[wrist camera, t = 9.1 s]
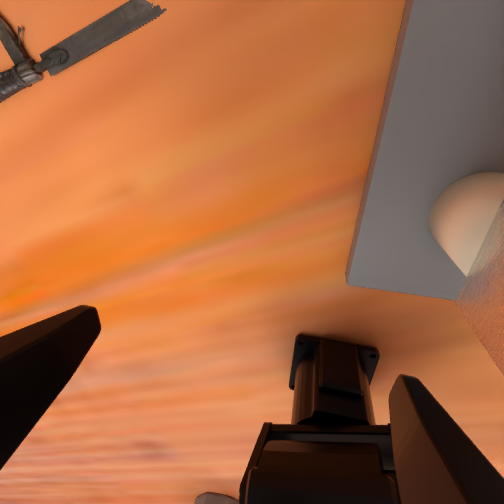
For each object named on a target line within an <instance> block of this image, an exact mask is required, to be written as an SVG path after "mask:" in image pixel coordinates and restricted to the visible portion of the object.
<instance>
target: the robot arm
mask: <svg viewBox="0 0 504 504" xmlns="http://www.w3.org/2000/svg"><path fill="white" fill-rule="evenodd" d="M100 331H101V323H100V319H99V316H98V312H97V309H96V308H95V307H92V306H88V305H80V306H77V307H75V308H72V309H70V310H67V311H65V312H62V313H60V314H57V315H55V316H52V317H50V318H47V319H45V320H42V321H39V322H37V323H34V324H32V325H29V326H27V327H24V328H22V329H19V330H17V331H14V332H12V333H9V334H7V335H4V336H2V337H0V470H1V469H2V468H3V466H4V465H5V464H6V462H7V461H8V460H9V458H10V457H11V456H12V455H13V453H14V452H15V451H16V449H17V448H18V447H19V445H20V444H21V443H22V442H23V440H24V439H25V438H26V436H27V435H28V434H29V432H30V431H31V430H32V429H33V427H34V426H35V425H36V423H37V422H38V421H39V419H40V418H41V417H42V416H43V414H44V413H45V412H46V410H47V409H48V408H49V406H50V405H51V404H52V403H53V401H54V400H55V399H56V397H57V396H58V395H59V393H60V392H61V391H62V390H63V388H64V387H65V386H66V384H67V383H68V382H69V380H70V379H71V377H72V376H73V374H74V373H75V371H76V370H77V368H78V367H79V365H80V364H81V362H82V361H83V359H84V357H85V356H86V354H87V353H88V351H89V350H90V348H91V346H92V345H93V343H94V342H95V340H96V339H97V337H98V335H99V334H100ZM301 341H303V342H301ZM379 358H380V355H379V351H378V350H377V349H376V348H373V347H367V346H361V345H356V344H350V343H345V342H339V341H333V340H328V339H322V338H316V337H311V336H305V335H298V336H297V337H296V339H295V346H294V353H293V360H292V367H291V374H290V381H289V388H290V389H291V390H294V399H293V409H292V420H291V424H272V422H264V424H263V427H262V429H261V432H260V434H259V437H258V439H257V442H256V445H255V447H254V450H253V452H252V455H251V458H250V460H249V463H248V466H247V468H246V471H245V474H244V476H243V479H242V481H241V484H240V489H239V493H240V496H239V504H504V478H503V477H502V476H501V475H500V473H499V472H498V471H497V470H496V469H495V468H494V466H493V465H492V464H491V463H490V462H489V461H488V459H487V458H486V457H485V456H484V455H483V454H482V452H481V451H480V450H479V449H478V448H477V447H476V445H475V444H474V443H473V442H472V441H471V440H470V438H469V437H468V436H467V435H466V434H465V433H464V431H463V430H462V429H461V428H460V427H459V426H458V424H457V423H456V422H455V421H454V420H453V419H452V417H451V416H450V415H449V414H448V413H447V412H446V411H445V409H444V408H443V407H442V406H441V405H440V404H439V402H438V401H437V400H436V399H435V398H434V397H433V395H432V394H431V393H430V392H429V391H428V390H427V388H426V387H425V386H424V385H423V384H422V383H421V381H420V380H419V379H417V378H416V377H412V376H408V375H403V374H400V375H399V376H398V377H397V379H396V381H395V383H394V385H393V387H392V390H391V392H390V394H389V412H390V423H388V425H376V424H375V418H374V412H373V406H372V400H371V394H370V388H369V386H370V383H371V380H372V377H373V374H374V372H375V369H376V366H377V363H378V360H379Z"/></svg>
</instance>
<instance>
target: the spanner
mask: <svg viewBox="0 0 504 504" xmlns="http://www.w3.org/2000/svg"><path fill="white" fill-rule="evenodd" d="M455 304H456V305H457V307H458V308H459V310H460V311H461V313H462V314H463V316H464V317H465V319H466V320H467V322H468V323H469V325H470V326H471V328H472V329H473V331H474V332H475V334H476V335H477V337H478V338H479V340H480V341H481V343H482V344H483V346H484V347H485V349H486V350H487V352H488V353H489V355H490V356H491V358H492V359H493V361H494V362H495V364H496V365H497V367H498V368H499V369H500V371H501V372H502V374H503V375H504V198H503V200H502V203H501V205H500V207H499V209H498V211H497V213H496V215H495V218H494V220H493V222H492V224H491V226H490V228H489V230H488V232H487V234H486V237H485V239H484V241H483V243H482V245H481V247H480V249H479V251H478V254H477V256H476V258H475V260H474V262H473V264H472V266H471V268H470V270H469V273H468V275H467V277H466V279H465V281H464V283H463V285H462V287H461V289H460V292H459V294H458V296H457V298H456V300H455Z"/></svg>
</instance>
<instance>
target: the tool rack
mask: <svg viewBox="0 0 504 504" xmlns="http://www.w3.org/2000/svg"><path fill="white" fill-rule="evenodd" d="M503 198H504V0H407V1H406V5H405V9H404V14H403V18H402V23H401V27H400V32H399V36H398V41H397V45H396V49H395V54H394V58H393V63H392V67H391V72H390V76H389V81H388V85H387V90H386V94H385V98H384V103H383V107H382V112H381V116H380V121H379V125H378V130H377V134H376V139H375V143H374V147H373V152H372V156H371V161H370V165H369V170H368V174H367V179H366V183H365V187H364V192H363V196H362V201H361V205H360V210H359V214H358V219H357V223H356V228H355V232H354V236H353V241H352V245H351V250H350V254H349V259H348V263H347V268H346V272H345V274H346V281H347V285H350V286H357V287H364V288H371V289H378V290H385V291H392V292H399V293H406V294H413V295H420V296H427V297H434V298H441V299H448V300H456V298H457V296H458V294H459V292H460V289H461V287H462V285H463V283H464V281H465V279H466V277H467V275H468V273H469V270H470V268H471V266H472V264H473V262H474V260H475V258H476V256H477V254H478V251H479V249H480V247H481V245H482V243H483V241H484V239H485V237H486V234H487V232H488V230H489V228H490V226H491V224H492V222H493V220H494V218H495V215H496V213H497V211H498V209H499V207H500V205H501V203H502V200H503Z"/></svg>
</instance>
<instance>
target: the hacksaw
mask: <svg viewBox="0 0 504 504" xmlns="http://www.w3.org/2000/svg"><path fill="white" fill-rule="evenodd" d="M152 6H153V3H152V4H151V3H149V2H148V1H146V0H130V1H128V2H127V3H125V4H123V5H122V6H120V7H118V8H117V9H115V10H113V11H112V12H110V13H108V14H107V15H105V16H103V17H102V18H100V19H98V20H97V21H95V22H93V23H92V24H90V25H88V26H87V27H85V28H83V29H82V30H80V31H78V32H77V33H75V34H73V35H72V36H70V37H68V38H67V39H65V40H63V41H62V42H60V43H58V44H57V45H55V46H53V47H52V48H50V49H48V50H47V51H45V52H43V53H41V54H40V57H41V58H42V61H41V62H39V63H35V61H34V60H33V59H29V57H28V55H27V54H26V52H25V50H24V49H23V47H22V46H21V44H20V32H21V30H22V29H21V28H20V27H19V26H18V39H17V38H16V36H15V35H14V33H13V32H12V30H11V29H10V27H9V26H8V25H7V24H6V22H5V21H4V20H3V19H2V18H1V17H0V40H1V42H2V44H3V45H4V47H5V49H6V50H7V52H8V54H9V56H10V57H11V59H12V61H13V62H14V64H15V65H14V66H13V67H12V69H9V70H7V71H4V72H0V103H1V102H2V101H4V100H5V99H7V98H9V97H10V96H12V95H13V94H15V93H17V92H19V91H20V90H22V89H24V88H26V87H30V86H32V83H36V82H38V81H40V80H42V79H43V76H42V74H41V73H42V72H44V71H45V70H48V72H49V74H50V76H52V75H53V76H54V74H56V73H59V71H61V70H64V68H65V69H66V67H69V66H71V65H72V64H74V63H76V62H79V60H82V59H84V58H85V57H87V56H89V55H90V54H91V55H92V53H95V51H98V50H100V49H101V48H103V47H106V45H109V43H110V44H111V43H112V42H114V41H115V40H116V41H117V39H120V38H121V37H123V36H126V34H129V32H132V31H135V29H138V27H141V25H143V26H144V24H147V22H150V21H151V20H152V21H153V19H156V18H157V17H159V16H160V14H162V13H164V12H165V11H166V10H167V9H163V10H161V8H160V6H159V5H157V6H154V7H153V8H152Z"/></svg>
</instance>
